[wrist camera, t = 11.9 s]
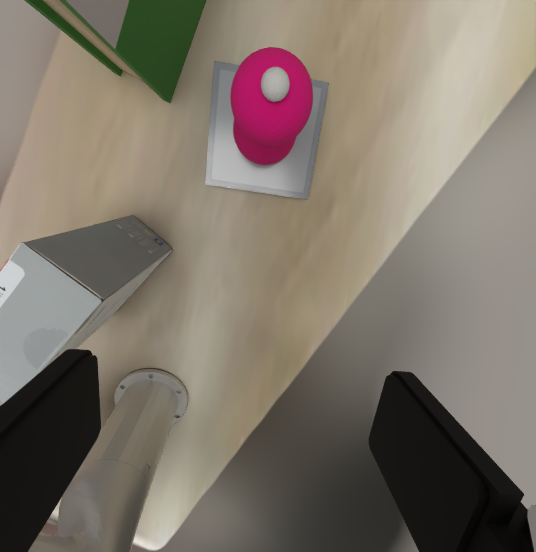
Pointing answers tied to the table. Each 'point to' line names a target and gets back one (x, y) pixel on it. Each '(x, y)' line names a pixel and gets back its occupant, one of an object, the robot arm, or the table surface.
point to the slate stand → (244, 173)
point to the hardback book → (131, 34)
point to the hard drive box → (68, 292)
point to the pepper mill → (270, 104)
